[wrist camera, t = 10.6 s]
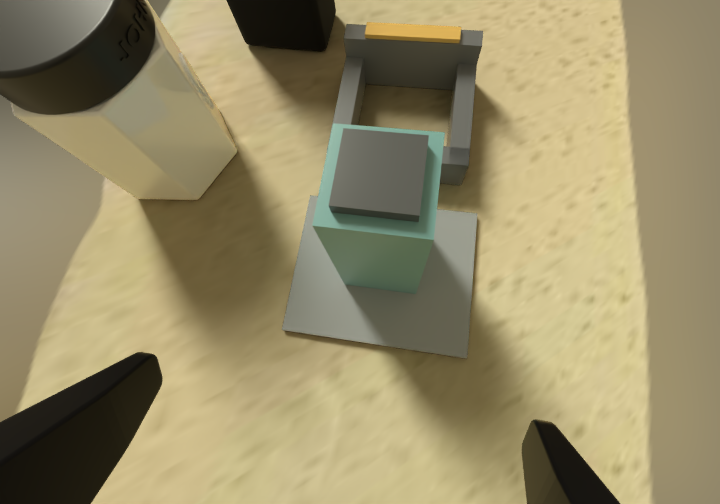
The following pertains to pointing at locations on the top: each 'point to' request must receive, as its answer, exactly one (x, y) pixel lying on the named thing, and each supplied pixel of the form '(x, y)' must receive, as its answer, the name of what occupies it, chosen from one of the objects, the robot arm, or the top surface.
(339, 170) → the plug
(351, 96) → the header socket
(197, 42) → the top surface
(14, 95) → the jar
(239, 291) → the top surface
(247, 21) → the battery
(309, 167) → the top surface
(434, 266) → the mat
